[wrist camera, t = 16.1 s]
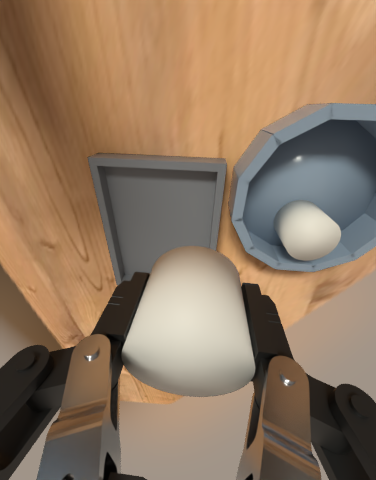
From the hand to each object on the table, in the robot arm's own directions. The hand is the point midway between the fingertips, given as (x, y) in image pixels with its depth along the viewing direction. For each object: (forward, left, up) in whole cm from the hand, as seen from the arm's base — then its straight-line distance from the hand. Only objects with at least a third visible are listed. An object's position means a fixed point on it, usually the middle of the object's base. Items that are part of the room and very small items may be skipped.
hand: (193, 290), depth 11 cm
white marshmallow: (+11, -2, -15) cm, 19 cm away
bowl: (+11, +1, -16) cm, 19 cm away
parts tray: (-5, -5, -16) cm, 17 cm away
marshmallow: (0, 0, -1) cm, 1 cm away
